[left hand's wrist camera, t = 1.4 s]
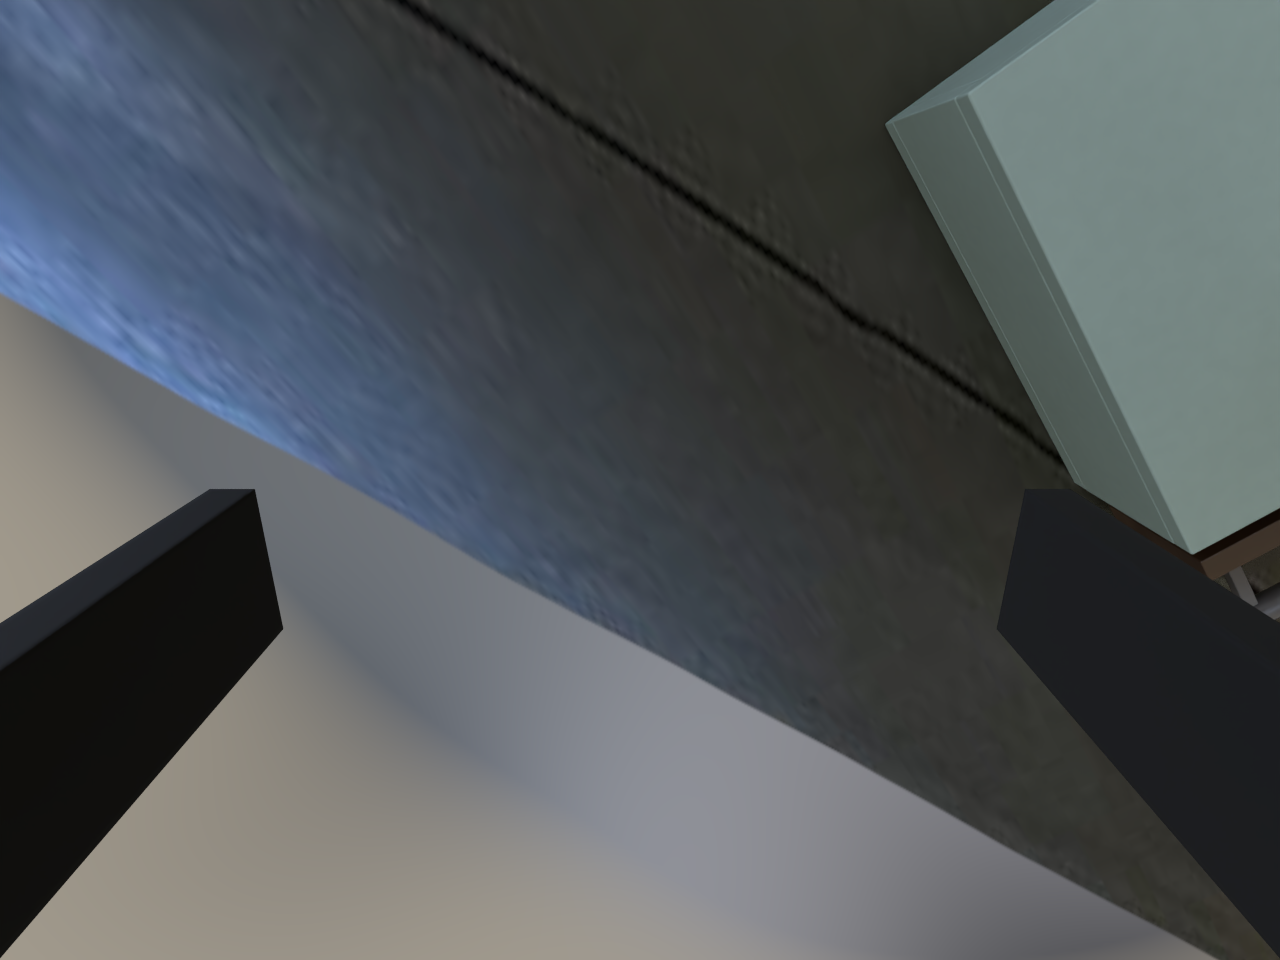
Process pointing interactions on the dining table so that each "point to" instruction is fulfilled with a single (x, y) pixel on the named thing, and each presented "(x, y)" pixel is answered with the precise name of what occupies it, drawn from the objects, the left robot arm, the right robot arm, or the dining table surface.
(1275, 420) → the cabinet
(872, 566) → the dining table surface
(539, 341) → the dining table surface
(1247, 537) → the drawer
